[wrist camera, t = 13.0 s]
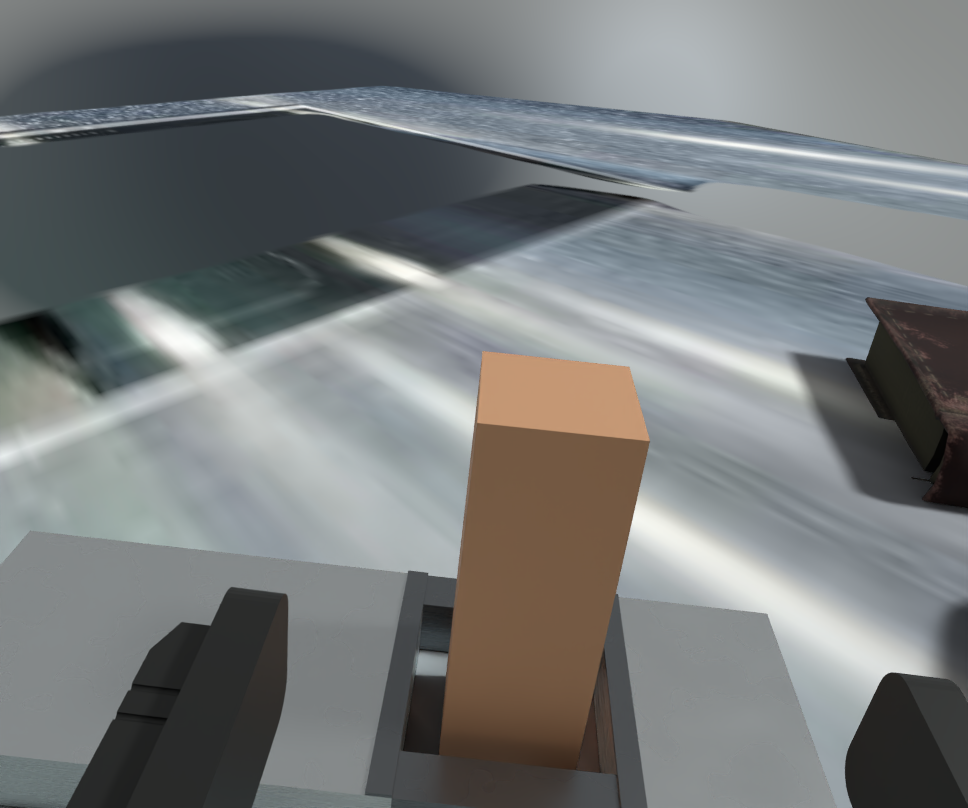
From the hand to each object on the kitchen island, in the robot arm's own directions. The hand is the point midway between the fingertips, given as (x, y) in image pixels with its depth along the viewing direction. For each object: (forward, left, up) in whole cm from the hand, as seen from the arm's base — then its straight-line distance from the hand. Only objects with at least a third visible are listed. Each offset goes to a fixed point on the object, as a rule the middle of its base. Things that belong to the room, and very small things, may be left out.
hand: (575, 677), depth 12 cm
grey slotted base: (-9, +7, -13) cm, 17 cm away
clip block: (-6, +9, -13) cm, 17 cm away
